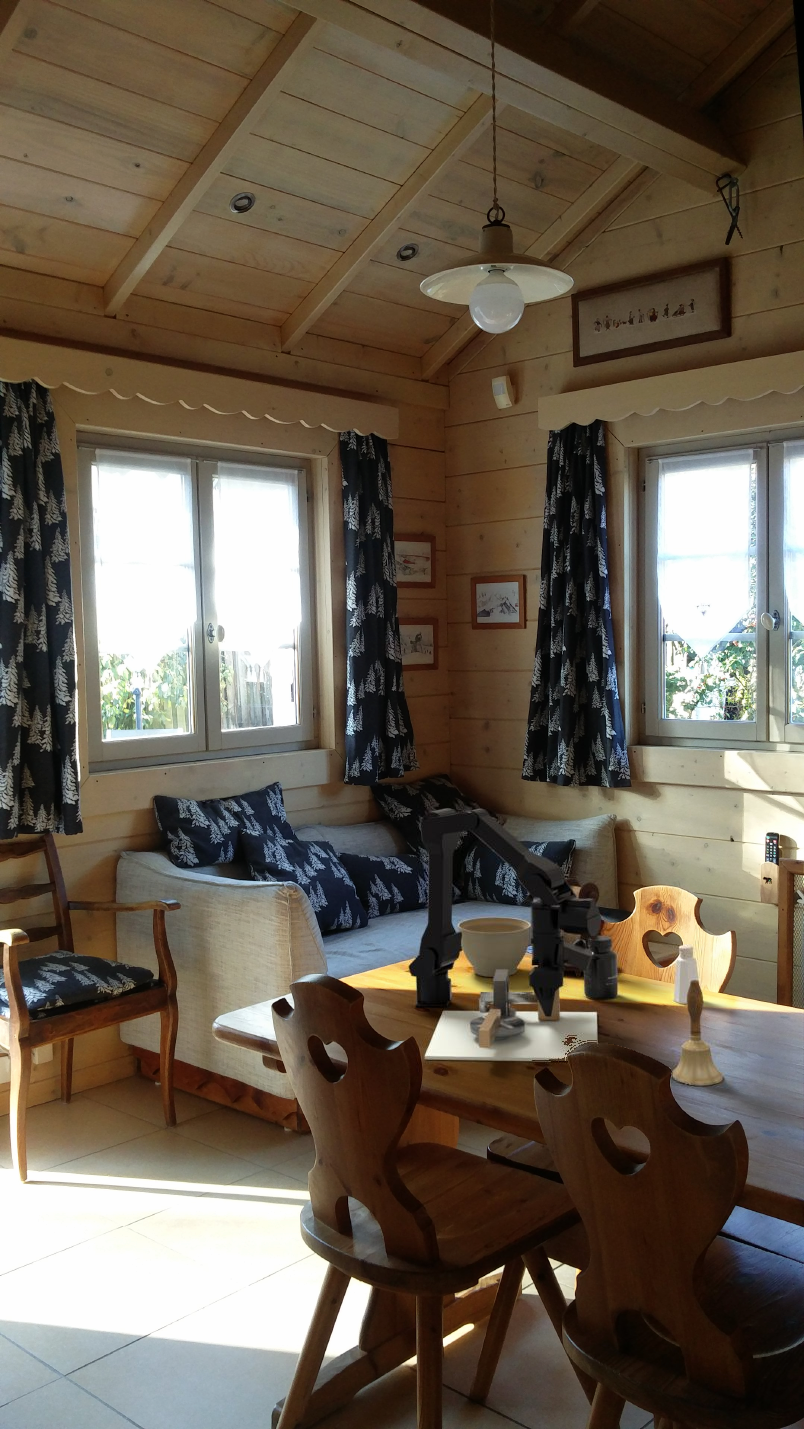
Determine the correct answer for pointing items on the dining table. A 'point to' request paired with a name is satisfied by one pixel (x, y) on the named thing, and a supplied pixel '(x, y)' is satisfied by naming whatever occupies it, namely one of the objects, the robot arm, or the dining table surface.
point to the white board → (530, 1045)
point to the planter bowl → (494, 943)
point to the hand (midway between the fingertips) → (548, 1011)
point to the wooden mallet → (521, 1002)
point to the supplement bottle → (601, 970)
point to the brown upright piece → (583, 892)
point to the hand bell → (696, 1047)
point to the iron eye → (502, 992)
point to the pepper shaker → (684, 973)
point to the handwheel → (496, 1027)
